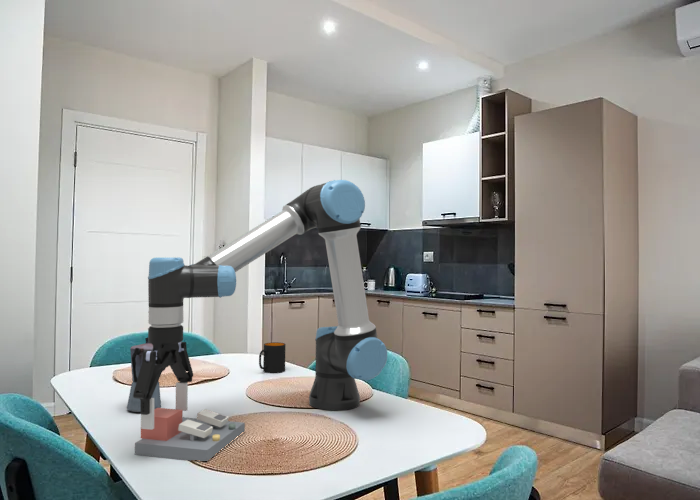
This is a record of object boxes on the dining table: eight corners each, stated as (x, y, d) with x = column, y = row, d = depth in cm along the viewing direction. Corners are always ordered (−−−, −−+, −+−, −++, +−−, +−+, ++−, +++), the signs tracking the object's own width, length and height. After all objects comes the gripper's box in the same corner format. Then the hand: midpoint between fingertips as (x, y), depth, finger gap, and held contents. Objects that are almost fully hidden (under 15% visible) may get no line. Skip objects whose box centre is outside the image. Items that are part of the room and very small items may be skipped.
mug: (251, 373, 193) (251, 345, 193) (274, 368, 202) (274, 341, 202) (266, 376, 188) (267, 347, 188) (289, 370, 197) (290, 343, 197)
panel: (244, 432, 125) (244, 418, 125) (206, 462, 107) (207, 444, 107) (181, 427, 129) (181, 412, 129) (134, 454, 110) (135, 437, 111)
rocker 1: (211, 432, 115) (213, 426, 115) (204, 438, 112) (205, 431, 112) (186, 425, 117) (187, 418, 117) (178, 430, 113) (179, 423, 113)
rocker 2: (227, 422, 123) (228, 416, 123) (220, 427, 119) (222, 421, 119) (203, 414, 124) (205, 408, 124) (196, 418, 121) (197, 412, 121)
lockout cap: (182, 431, 118) (182, 409, 118) (166, 440, 112) (167, 417, 112) (157, 429, 120) (157, 407, 120) (140, 438, 113) (141, 415, 113)
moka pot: (170, 402, 151) (171, 334, 152) (151, 418, 136) (153, 342, 136) (137, 402, 151) (139, 334, 152) (115, 417, 136) (117, 342, 136)
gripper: (180, 318, 129) (180, 402, 129) (115, 332, 105) (114, 436, 105) (207, 318, 128) (207, 404, 127) (147, 333, 103) (147, 439, 103)
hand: (165, 419), depth 116 cm, fingers open, 13 cm apart
